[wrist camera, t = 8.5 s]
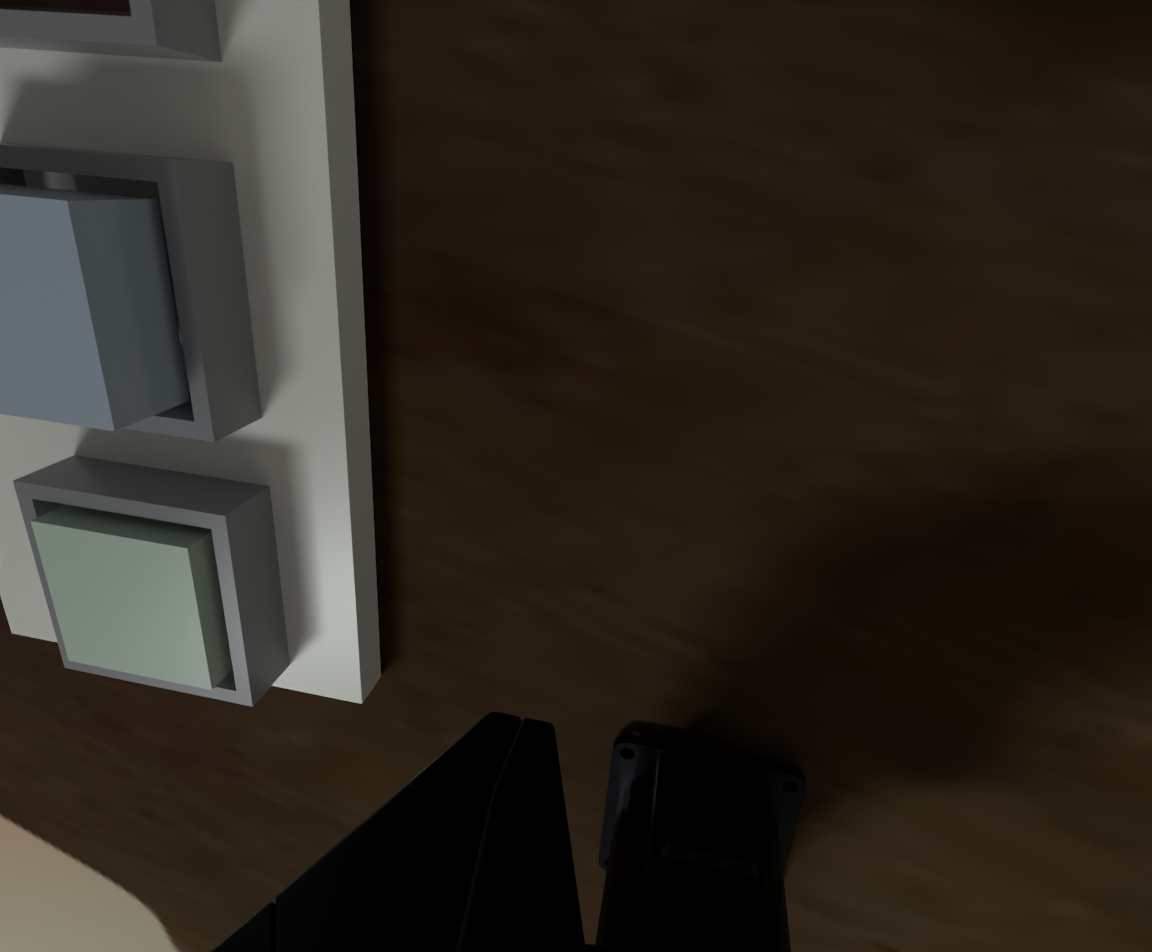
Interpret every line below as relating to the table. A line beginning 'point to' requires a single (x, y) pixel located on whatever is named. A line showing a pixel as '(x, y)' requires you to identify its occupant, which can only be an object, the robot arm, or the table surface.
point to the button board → (216, 317)
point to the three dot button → (74, 4)
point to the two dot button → (85, 309)
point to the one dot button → (136, 594)
